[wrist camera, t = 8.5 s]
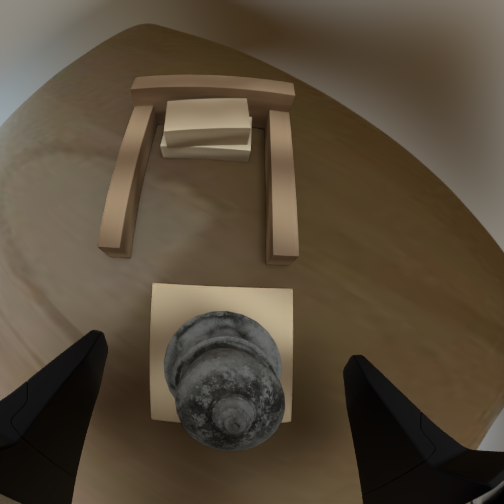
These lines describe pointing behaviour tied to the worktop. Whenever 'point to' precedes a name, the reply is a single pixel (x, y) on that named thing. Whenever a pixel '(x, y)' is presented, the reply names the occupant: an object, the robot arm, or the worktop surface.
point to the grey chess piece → (225, 380)
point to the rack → (154, 112)
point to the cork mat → (208, 300)
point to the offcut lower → (210, 151)
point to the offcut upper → (207, 122)
